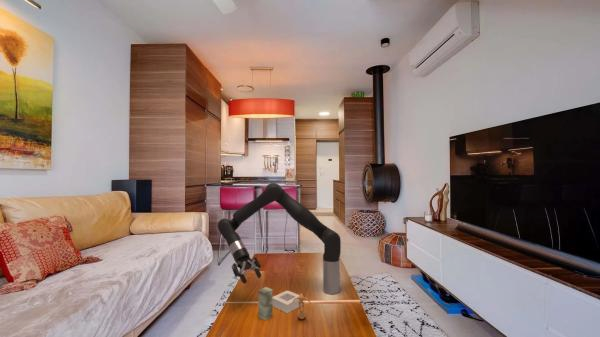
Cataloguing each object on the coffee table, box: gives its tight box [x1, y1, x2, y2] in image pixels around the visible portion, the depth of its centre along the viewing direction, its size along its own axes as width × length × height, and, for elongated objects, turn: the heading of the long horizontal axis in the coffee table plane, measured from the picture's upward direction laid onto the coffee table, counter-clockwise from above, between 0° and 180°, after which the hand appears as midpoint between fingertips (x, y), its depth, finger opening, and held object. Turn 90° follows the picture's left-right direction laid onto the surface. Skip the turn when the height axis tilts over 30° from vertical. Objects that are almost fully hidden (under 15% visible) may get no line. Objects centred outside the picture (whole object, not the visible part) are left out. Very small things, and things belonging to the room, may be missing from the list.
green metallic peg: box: [258, 286, 274, 321], centre depth 118 cm, size 4×4×12 cm
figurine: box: [292, 292, 312, 320], centre depth 115 cm, size 8×6×12 cm
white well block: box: [273, 290, 303, 314], centre depth 128 cm, size 11×11×4 cm
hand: (252, 280), depth 124 cm, fingers open, 8 cm apart
